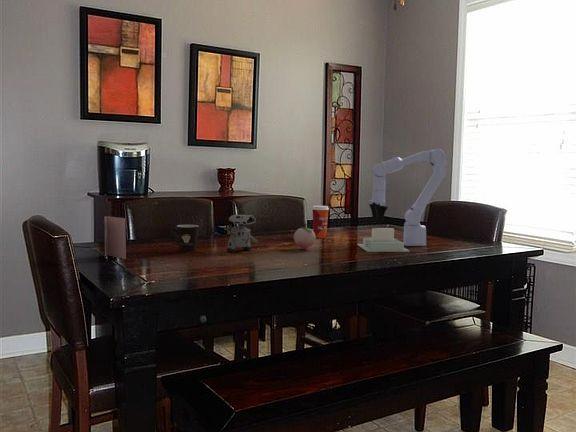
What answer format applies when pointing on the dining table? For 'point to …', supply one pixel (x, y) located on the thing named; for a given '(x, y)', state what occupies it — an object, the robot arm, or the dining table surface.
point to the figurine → (240, 232)
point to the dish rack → (383, 246)
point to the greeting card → (115, 237)
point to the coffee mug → (186, 237)
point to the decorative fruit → (304, 237)
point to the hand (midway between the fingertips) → (377, 220)
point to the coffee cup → (320, 221)
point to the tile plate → (382, 234)
